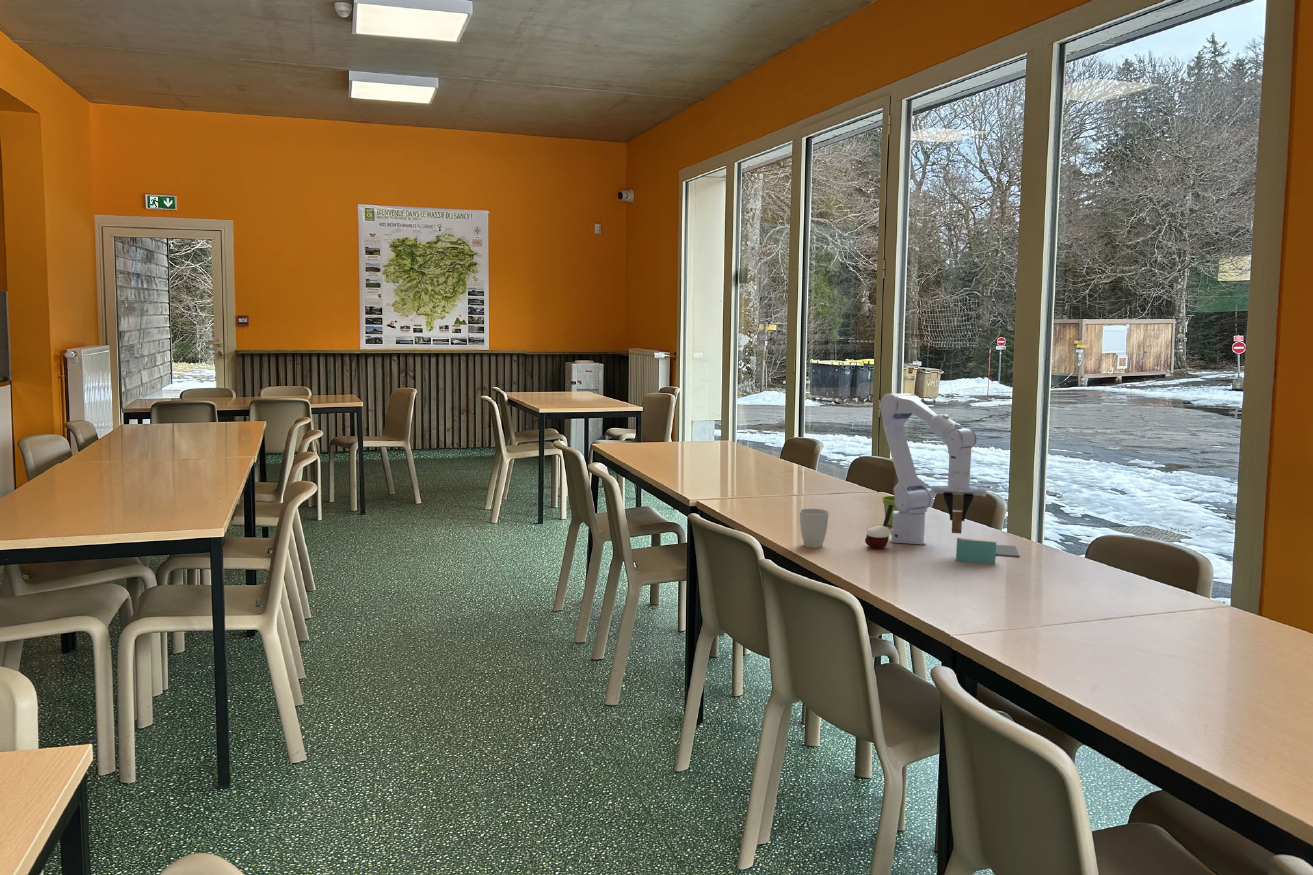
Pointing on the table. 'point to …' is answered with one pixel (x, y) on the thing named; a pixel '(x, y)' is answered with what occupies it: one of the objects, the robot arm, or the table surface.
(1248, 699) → the table surface
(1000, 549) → the mat
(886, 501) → the plant pot
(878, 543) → the cocoa
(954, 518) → the stick
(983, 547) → the tile
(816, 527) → the cup
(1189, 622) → the table surface
